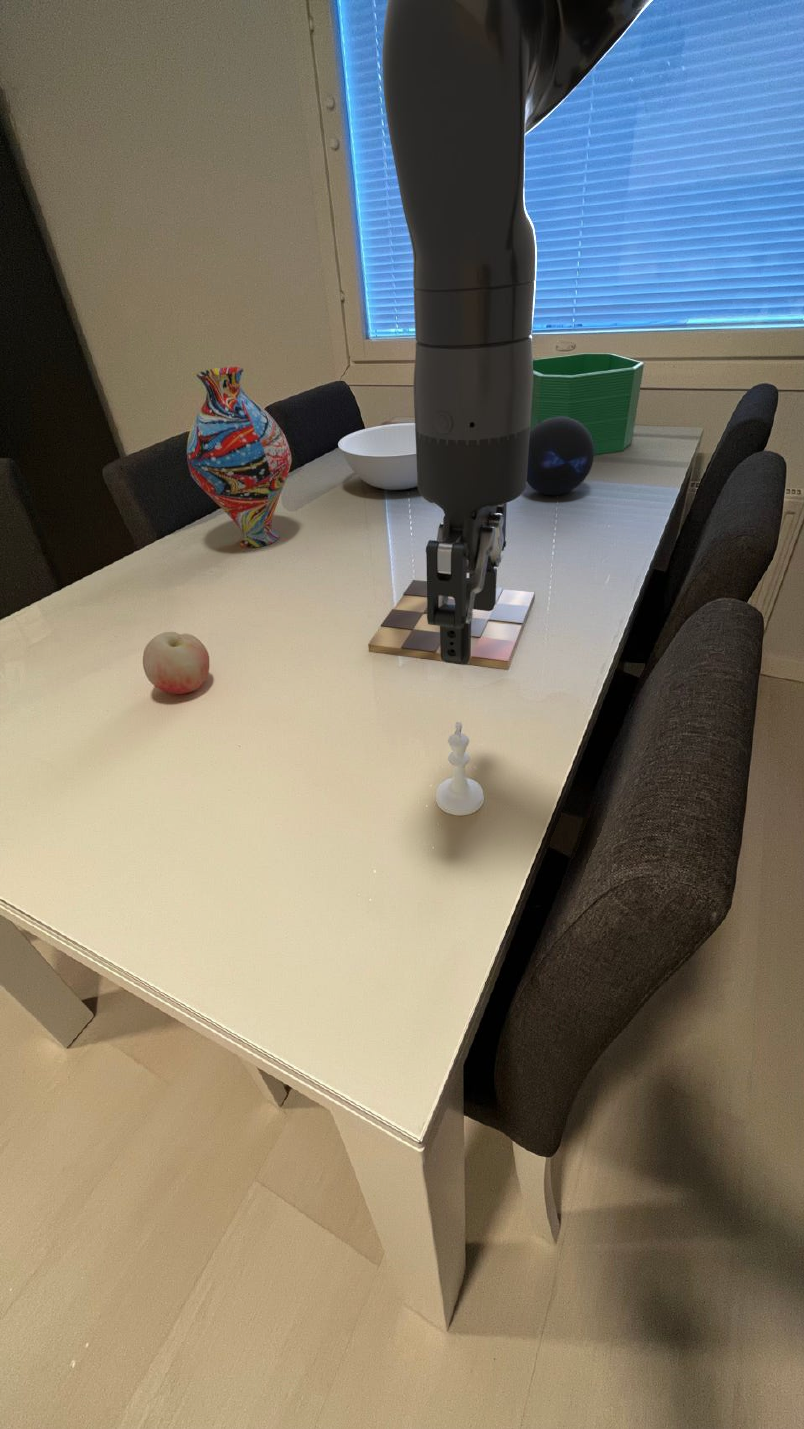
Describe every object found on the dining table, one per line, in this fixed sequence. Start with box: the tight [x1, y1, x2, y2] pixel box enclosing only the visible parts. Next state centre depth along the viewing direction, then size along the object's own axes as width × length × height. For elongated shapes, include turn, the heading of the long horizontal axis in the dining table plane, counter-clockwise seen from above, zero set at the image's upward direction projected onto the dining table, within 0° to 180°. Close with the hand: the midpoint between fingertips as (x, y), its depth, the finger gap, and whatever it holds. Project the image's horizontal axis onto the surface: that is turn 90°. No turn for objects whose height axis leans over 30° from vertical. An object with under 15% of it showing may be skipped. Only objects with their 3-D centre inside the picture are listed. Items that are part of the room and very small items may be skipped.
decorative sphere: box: [526, 417, 595, 496], centre depth 125 cm, size 15×15×15 cm
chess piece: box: [435, 721, 485, 816], centre depth 59 cm, size 5×5×10 cm
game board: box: [367, 579, 536, 670], centre depth 89 cm, size 20×20×1 cm
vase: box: [186, 366, 292, 548], centre depth 113 cm, size 19×19×30 cm
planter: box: [530, 352, 645, 456], centre depth 152 cm, size 26×26×18 cm
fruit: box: [142, 631, 211, 695], centre depth 80 cm, size 8×8×8 cm
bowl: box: [337, 422, 418, 491], centre depth 140 cm, size 27×27×10 cm
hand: (469, 633), depth 49 cm, fingers open, 8 cm apart
